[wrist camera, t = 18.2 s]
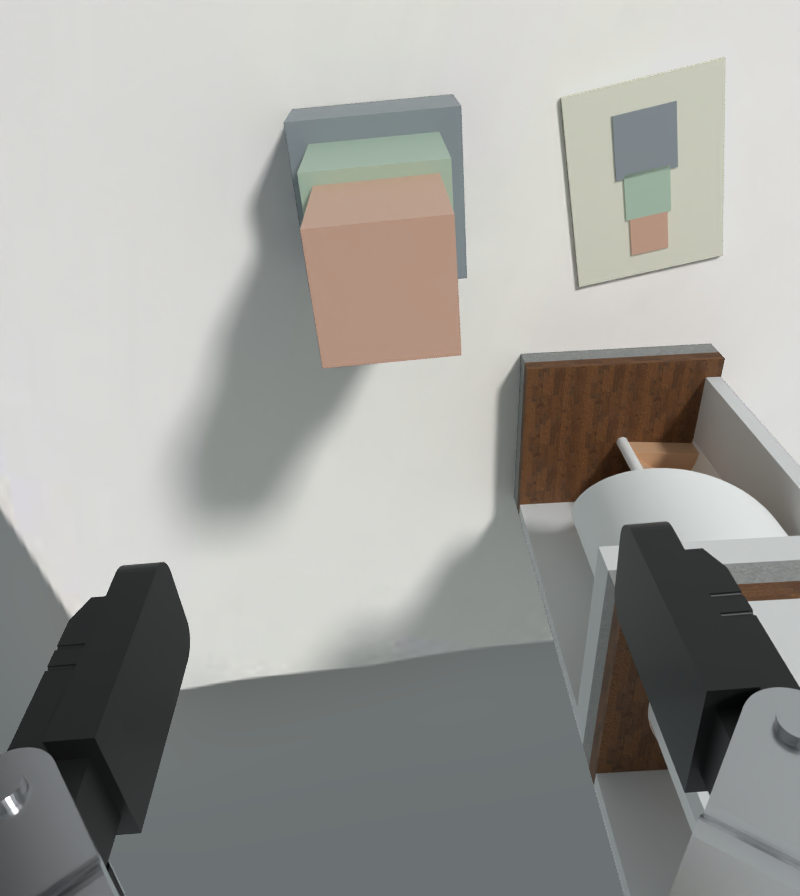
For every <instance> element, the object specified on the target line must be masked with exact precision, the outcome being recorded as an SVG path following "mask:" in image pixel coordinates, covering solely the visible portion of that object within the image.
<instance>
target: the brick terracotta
mask: <svg viewBox="0 0 800 896" xmlns="http://www.w3.org/2000/svg"><path fill="white" fill-rule="evenodd" d="M300 232H301V238H302V244H303V251H304V257H305V263H306V269H307V275H308V281H309V287H310V294H311V300H312V306H313V312H314V318H315V324H316V331H317V337H318V343H319V349H320V355H321V361H322V367H323V368H332V367H343V366H353V365H364V364H374V363H385V362H395V361H406V360H416V359H427V358H437V357H448V356H458V355H461V337H460V316H459V295H458V275H457V254H456V234H455V214H454V211H453V208H452V206H451V203H450V200H449V197H448V194H447V191H446V189H445V186H444V183H443V180H442V177H441V175H440V173H435V174H425V175H415V176H405V177H395V178H386V179H376V180H366V181H356V182H346V183H336V184H326V185H316V186H313V187H312V190H311V194H310V197H309V200H308V204H307V207H306V211H305V214H304V218H303V221H302V224H301V228H300Z"/></svg>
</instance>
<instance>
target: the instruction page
mask: <svg viewBox="0 0 800 896" xmlns="http://www.w3.org/2000/svg"><path fill="white" fill-rule="evenodd" d="M561 108H562V118H563V129H564V139H565V150H566V160H567V170H568V181H569V191H570V202H571V212H572V222H573V233H574V243H575V254H576V264H577V275H578V285H579V287H582V286H587V285H591V284H596V283H600V282H605V281H609V280H614V279H618V278H623V277H627V276H632V275H636V274H641V273H645V272H650V271H654V270H659V269H663V268H668V267H672V266H677V265H681V264H686V263H690V262H695V261H699V260H704V259H708V258H713V257H717V256H722V255H723V193H724V125H725V58H724V57H723V58H719V59H715V60H711V61H707V62H703V63H699V64H695V65H691V66H687V67H683V68H679V69H675V70H671V71H667V72H662V73H658V74H654V75H650V76H646V77H642V78H638V79H634V80H630V81H626V82H622V83H618V84H614V85H610V86H606V87H602V88H598V89H593V90H589V91H585V92H581V93H577V94H573V95H569V96H565V97H561Z"/></svg>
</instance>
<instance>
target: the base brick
mask: <svg viewBox="0 0 800 896" xmlns="http://www.w3.org/2000/svg"><path fill="white" fill-rule="evenodd" d="M284 127H285V133H286V140H287V146H288V153H289V159H290V166H291V172H292V179H293V185H294V192H295V198H296V205H297V211H298V218H299V224H300V228H301V224H302V221H303V218H304V215H303V208H302V202H301V195H300V189H299V182H298V175H297V172H298V169H299V167H300V164H301V162H302V159H303V157H304V154H305V152H306V149H307V146H308V144H315V143H325V142H336V141H346V140H357V139H367V138H378V137H388V136H399V135H409V134H420V133H430V132H440V134H441V137H442V139H443V141H444V143H445V145H446V148H447V150H448V152H449V154H450V157H451V162H452V185H453V209H454V214H455V234H456V254H457V275H458V279H461V278H467V266H466V236H465V206H464V175H463V145H462V115H461V105H460V103H459V102H458V101H457V99H456V98H455V97H454V95H453V94H451V95H440V96H429V97H419V98H408V99H398V100H387V101H376V102H366V103H355V104H344V105H334V106H323V107H312V108H302V109H292V110H291V112H290V113H289V115H288V117H287V118H286V120H285V121H284ZM306 270H307V269H306ZM307 276H308V275H307ZM308 283H309V281H308ZM309 289H310V287H309Z"/></svg>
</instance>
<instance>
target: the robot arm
mask: <svg viewBox="0 0 800 896" xmlns="http://www.w3.org/2000/svg"><path fill="white" fill-rule="evenodd" d="M615 606H616V612H617V617H618V621H619V624H620V627H621V629H622V632H623V634H624V637H625V640H626V642H627V645H628V647H629V650H630V653H631V655H632V658H633V660H634V663H635V666H636V668H637V671H638V673H639V676H640V679H641V681H642V684H643V686H644V689H645V692H646V694H647V697H648V699H649V702H650V704H651V707H652V710H653V712H654V715H655V717H656V720H657V723H658V725H659V728H660V730H661V733H662V736H663V738H664V741H665V743H666V746H667V749H668V751H669V754H670V756H671V759H672V762H673V764H674V767H675V769H676V772H677V774H678V777H679V780H680V782H681V785H682V787H683V790H684V793H692V792H704V791H708V793H709V795H710V797H709V800H708V802H707V805H706V808H705V810H704V812H703V814H701V815H700V816H699V818H698V820H697V823H696V825H695V828H694V830H693V833H692V835H691V838H690V840H689V843H688V846H687V848H686V851H685V854H684V856H683V859H682V862H681V864H680V867H679V870H678V872H677V875H676V877H675V880H674V883H673V885H672V888H671V891H670V893H669V896H800V687H799V685H798V683H797V682H796V680H795V678H794V677H793V675H792V674H791V672H790V670H789V669H788V667H787V665H786V664H785V662H784V660H783V659H782V657H781V655H780V654H779V652H778V650H777V649H776V647H775V646H774V644H773V642H772V641H771V639H770V637H769V636H768V634H767V632H766V631H765V629H764V627H763V626H762V624H761V622H760V621H759V619H758V618H757V616H756V615H754V614H753V609H752V608H751V606H750V604H749V603H748V601H747V599H746V598H745V596H742V594H741V589H740V588H739V586H738V585H737V583H736V581H735V580H734V578H733V576H732V575H731V573H730V571H729V570H728V568H727V567H726V566H725V565H723V564H722V563H721V562H720V561H718V560H717V559H716V558H714V557H713V556H712V555H711V554H709V553H708V552H707V551H706V550H704V549H703V548H698V549H686V550H685V549H684V547H683V545H682V543H681V541H680V540H679V538H678V536H677V534H676V532H675V531H674V529H673V527H672V526H671V524H670V523H669V522H667V521H664V522H652V523H640V524H628V525H624V526H623V527H622V529H621V533H620V542H619V552H618V561H617V571H616V581H615ZM57 646H58V649H57V650H56V651H54V654H53V656H52V658H51V660H50V662H49V664H48V671H45V673H44V675H43V677H42V679H41V681H40V683H39V685H38V687H37V690H36V692H35V694H34V696H33V698H32V700H31V702H30V704H29V706H28V708H27V710H26V713H25V715H24V717H23V719H22V721H21V723H20V726H19V727H18V729H17V732H16V734H15V736H14V738H13V740H12V742H11V744H10V746H9V748H8V750H7V752H4V753H2V754H0V896H126V895H125V892H124V890H123V888H122V886H121V884H120V882H119V880H118V878H117V876H116V873H115V871H114V869H113V867H112V865H111V863H110V861H109V856H110V853H111V849H112V846H113V842H114V839H115V836H116V835H122V834H135V833H141V831H142V827H143V824H144V820H145V816H146V813H147V809H148V805H149V802H150V798H151V794H152V790H153V787H154V783H155V780H156V776H157V772H158V768H159V765H160V761H161V757H162V754H163V750H164V746H165V742H166V739H167V735H168V732H169V728H170V724H171V720H172V716H173V713H174V709H175V706H176V702H177V698H178V695H179V691H180V687H181V684H182V680H183V676H184V673H185V669H186V665H187V661H188V657H189V650H190V633H189V627H188V622H187V619H186V616H185V613H184V610H183V607H182V604H181V601H180V598H179V595H178V592H177V589H176V586H175V583H174V580H173V577H172V574H171V571H170V569H169V567H168V565H167V564H166V563H165V562H159V563H147V564H135V565H123V566H121V567H119V569H118V570H117V572H116V574H115V576H114V578H113V581H112V583H111V585H110V587H109V590H108V592H107V594H106V596H104V597H92V598H90V599H89V600H88V602H87V603H86V604H85V605H84V606H83V607H82V608H81V609H80V610H79V611H78V612H77V613H76V614H75V615H74V616H73V617H72V618H71V619H70V620H69V622H68V624H67V626H66V628H65V630H64V632H63V634H62V637H61V639H60V641H59V643H58V645H57Z"/></svg>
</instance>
